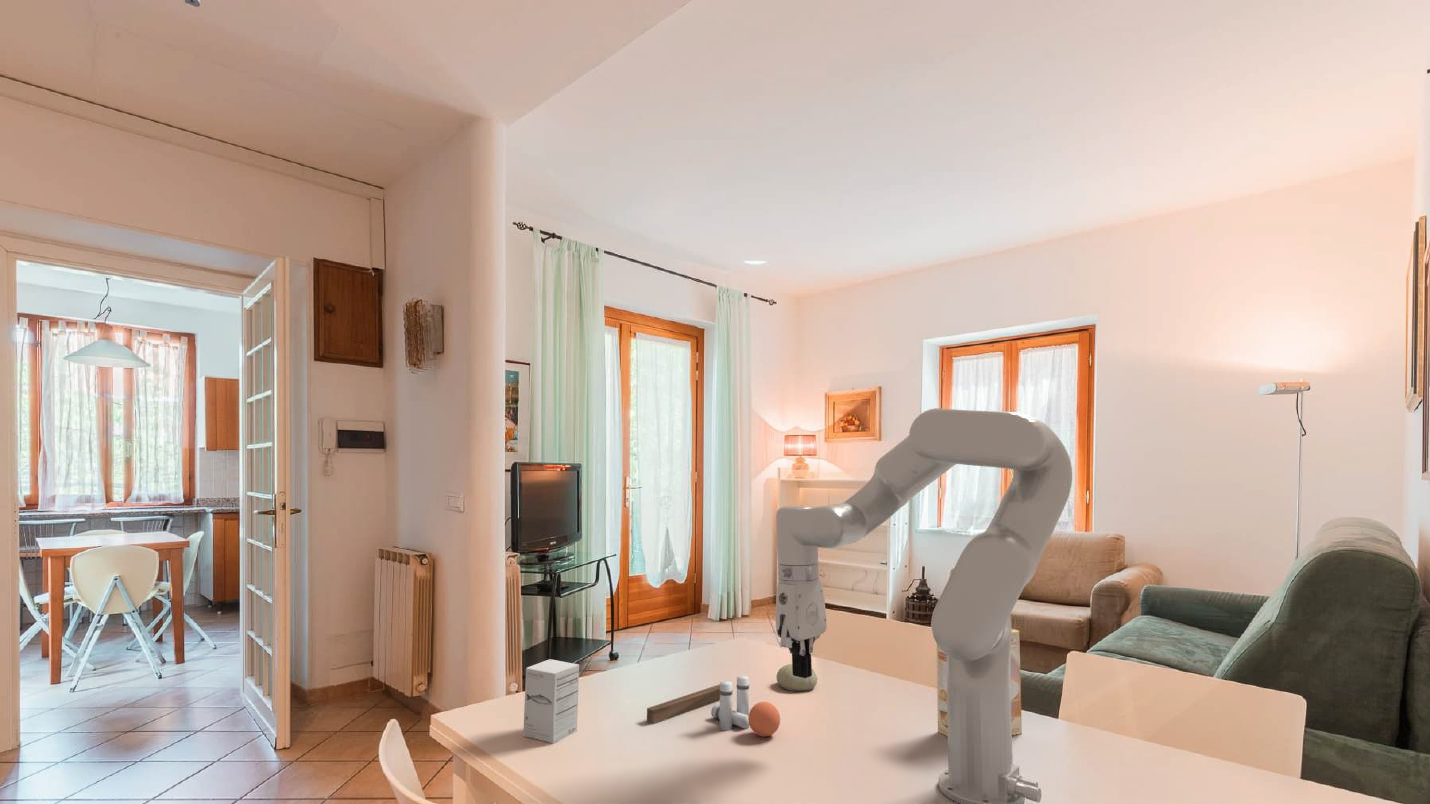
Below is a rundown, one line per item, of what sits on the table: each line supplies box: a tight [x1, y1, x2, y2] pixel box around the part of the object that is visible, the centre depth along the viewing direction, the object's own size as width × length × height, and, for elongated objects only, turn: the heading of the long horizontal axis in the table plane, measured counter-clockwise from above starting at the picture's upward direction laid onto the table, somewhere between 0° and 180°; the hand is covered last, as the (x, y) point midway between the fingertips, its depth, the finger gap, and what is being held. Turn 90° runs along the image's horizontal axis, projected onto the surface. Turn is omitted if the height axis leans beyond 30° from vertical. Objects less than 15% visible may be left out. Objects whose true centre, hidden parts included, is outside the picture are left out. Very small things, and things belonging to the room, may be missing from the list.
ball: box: [749, 701, 781, 737], centre depth 130 cm, size 6×6×6 cm
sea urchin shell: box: [776, 663, 818, 692], centre depth 160 cm, size 9×8×8 cm
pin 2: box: [736, 675, 750, 716], centre depth 138 cm, size 2×2×8 cm
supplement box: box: [522, 658, 580, 745], centre depth 131 cm, size 7×7×13 cm
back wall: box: [646, 683, 720, 725], centre depth 144 cm, size 2×22×2 cm, turn 137°
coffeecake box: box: [936, 628, 1023, 738], centre depth 133 cm, size 15×7×20 cm, turn 112°
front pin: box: [710, 704, 750, 730], centre depth 136 cm, size 2×2×8 cm
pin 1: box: [719, 680, 733, 731], centre depth 134 cm, size 2×2×8 cm
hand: (802, 675), depth 126 cm, fingers closed
